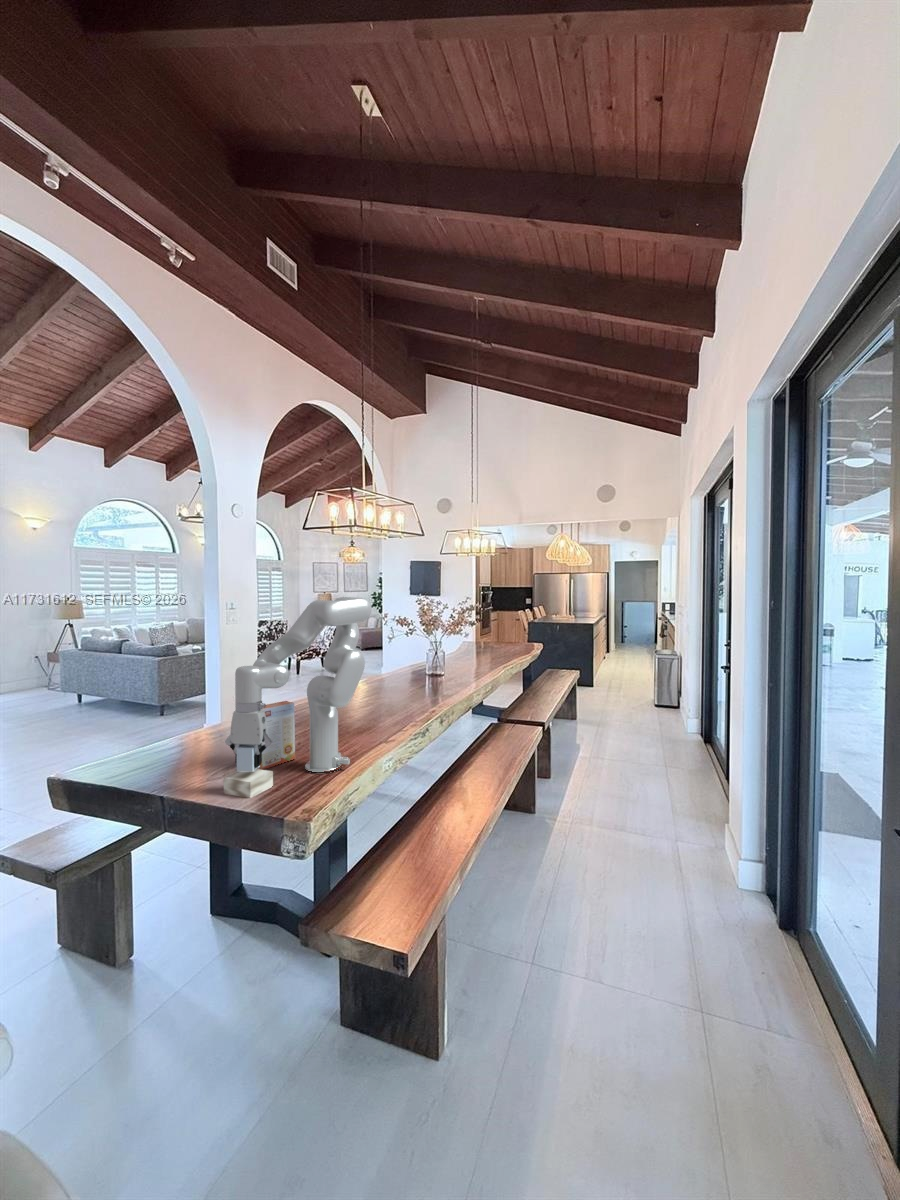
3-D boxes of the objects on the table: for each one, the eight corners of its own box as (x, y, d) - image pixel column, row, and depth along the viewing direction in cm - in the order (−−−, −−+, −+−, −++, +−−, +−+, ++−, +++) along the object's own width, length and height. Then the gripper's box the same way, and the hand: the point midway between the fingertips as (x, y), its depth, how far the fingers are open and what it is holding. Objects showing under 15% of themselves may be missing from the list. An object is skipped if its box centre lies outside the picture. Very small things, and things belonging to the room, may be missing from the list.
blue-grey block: (260, 766, 166) (260, 743, 166) (252, 771, 161) (252, 748, 161) (244, 765, 166) (244, 743, 166) (236, 771, 161) (236, 748, 161)
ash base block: (273, 787, 167) (272, 771, 167) (250, 799, 158) (250, 782, 157) (247, 782, 170) (247, 767, 170) (223, 794, 161) (223, 777, 161)
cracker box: (285, 757, 195) (285, 700, 195) (295, 760, 192) (295, 702, 191) (250, 766, 185) (250, 706, 184) (260, 770, 181) (259, 709, 180)
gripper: (280, 705, 166) (280, 763, 167) (228, 703, 168) (228, 760, 168) (269, 710, 159) (269, 771, 159) (215, 708, 161) (215, 768, 161)
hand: (248, 765), depth 164 cm, fingers closed on blue-grey block, 5 cm apart
